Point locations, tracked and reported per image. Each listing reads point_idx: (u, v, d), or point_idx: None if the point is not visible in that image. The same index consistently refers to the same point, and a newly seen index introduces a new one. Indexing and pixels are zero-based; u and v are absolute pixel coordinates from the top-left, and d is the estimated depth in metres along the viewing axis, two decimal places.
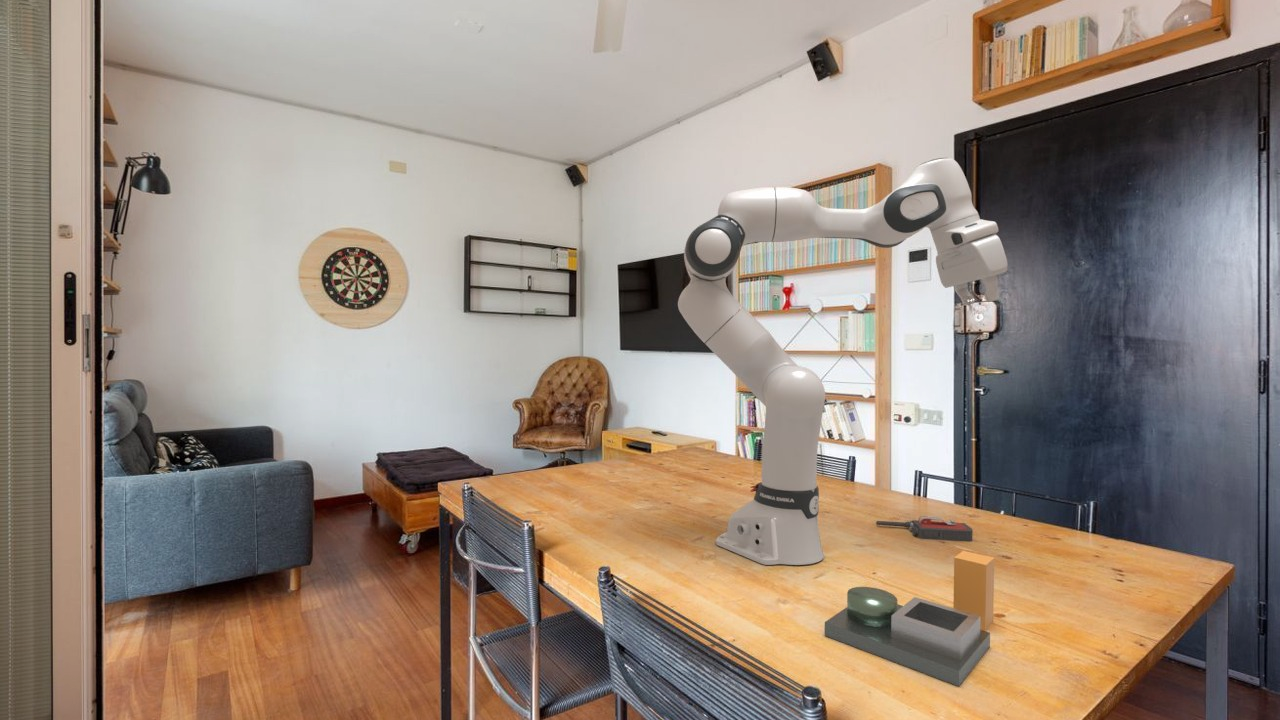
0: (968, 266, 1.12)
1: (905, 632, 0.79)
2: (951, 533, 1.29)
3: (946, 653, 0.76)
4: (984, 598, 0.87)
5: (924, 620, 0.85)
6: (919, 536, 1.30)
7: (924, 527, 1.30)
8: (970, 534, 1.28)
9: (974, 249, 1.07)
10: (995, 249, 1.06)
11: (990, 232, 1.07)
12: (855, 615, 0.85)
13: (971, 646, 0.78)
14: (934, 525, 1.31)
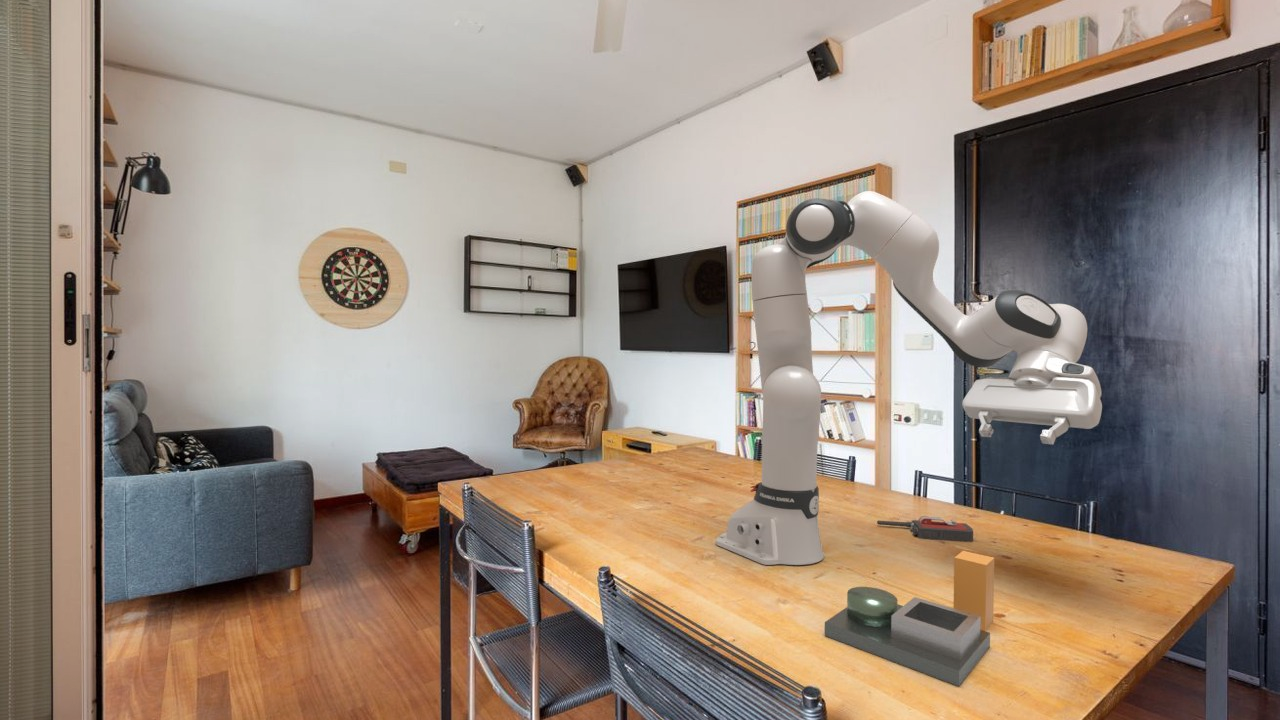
0: (1048, 398, 0.97)
1: (905, 632, 0.79)
2: (951, 533, 1.29)
3: (946, 653, 0.76)
4: (984, 598, 0.87)
5: (924, 620, 0.85)
6: (919, 536, 1.30)
7: (924, 527, 1.30)
8: (971, 534, 1.28)
9: (1090, 386, 0.93)
10: (1100, 405, 0.93)
11: (1098, 392, 0.96)
12: (855, 615, 0.85)
13: (971, 646, 0.78)
14: (934, 525, 1.31)
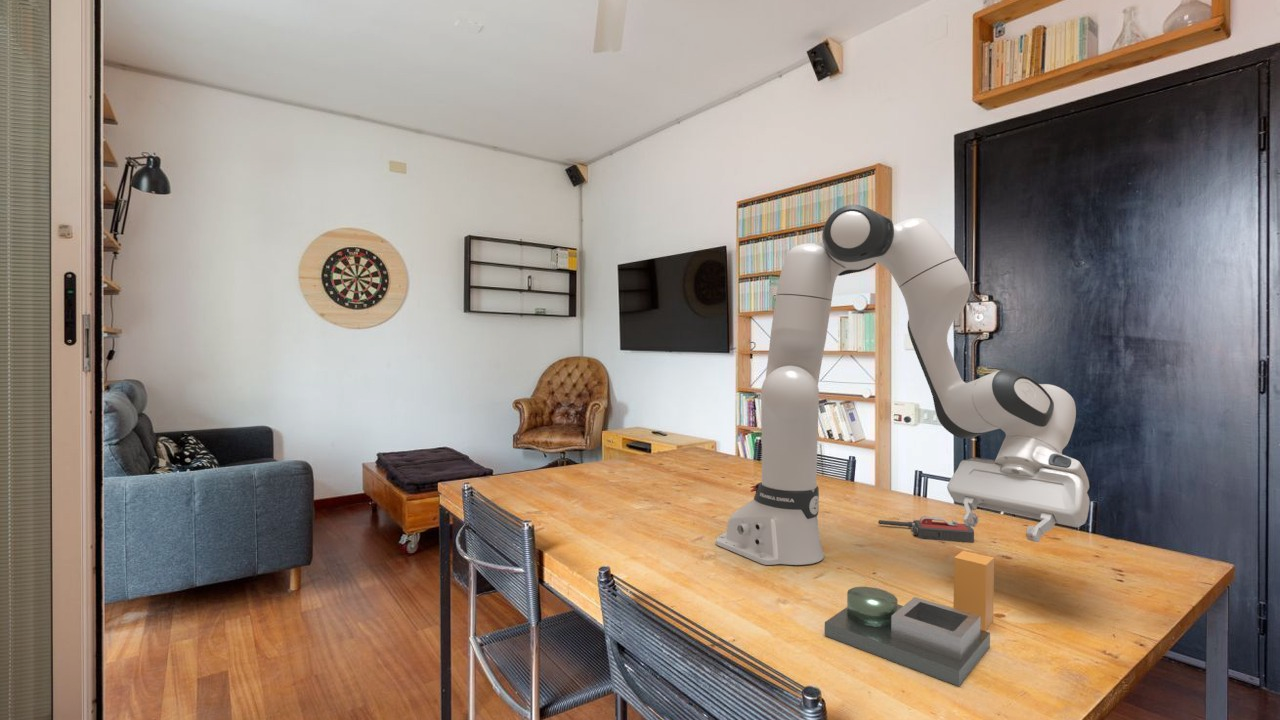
0: (1035, 491, 0.94)
1: (905, 632, 0.79)
2: (952, 533, 1.28)
3: (946, 653, 0.76)
4: (984, 598, 0.87)
5: (924, 620, 0.85)
6: (919, 536, 1.30)
7: (924, 527, 1.30)
8: (971, 535, 1.27)
9: (1078, 482, 0.90)
10: (1087, 501, 0.90)
11: (1085, 486, 0.93)
12: (855, 615, 0.85)
13: (971, 646, 0.78)
14: (935, 525, 1.31)
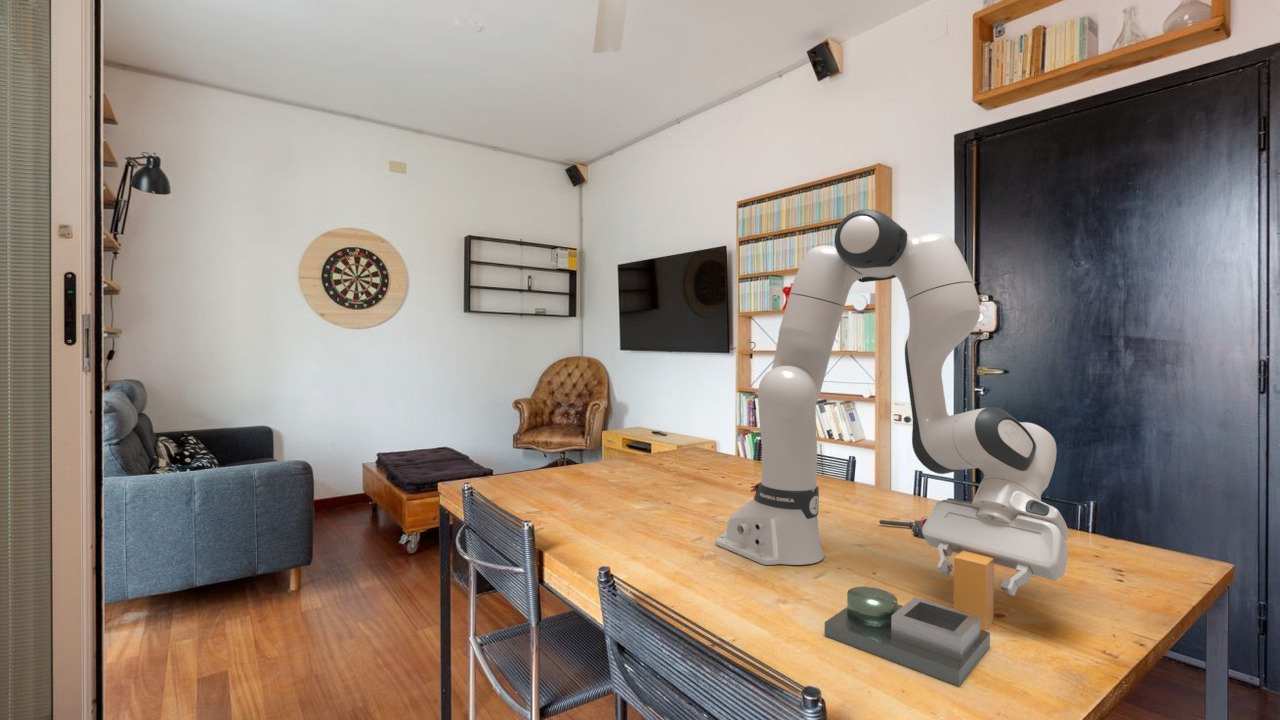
0: (1011, 540, 0.89)
1: (905, 632, 0.79)
2: None
3: (946, 653, 0.76)
4: (984, 598, 0.87)
5: (924, 620, 0.85)
6: (919, 536, 1.30)
7: None
8: None
9: (1055, 532, 0.85)
10: (1065, 553, 0.85)
11: (1064, 535, 0.88)
12: (855, 615, 0.85)
13: (971, 646, 0.78)
14: None
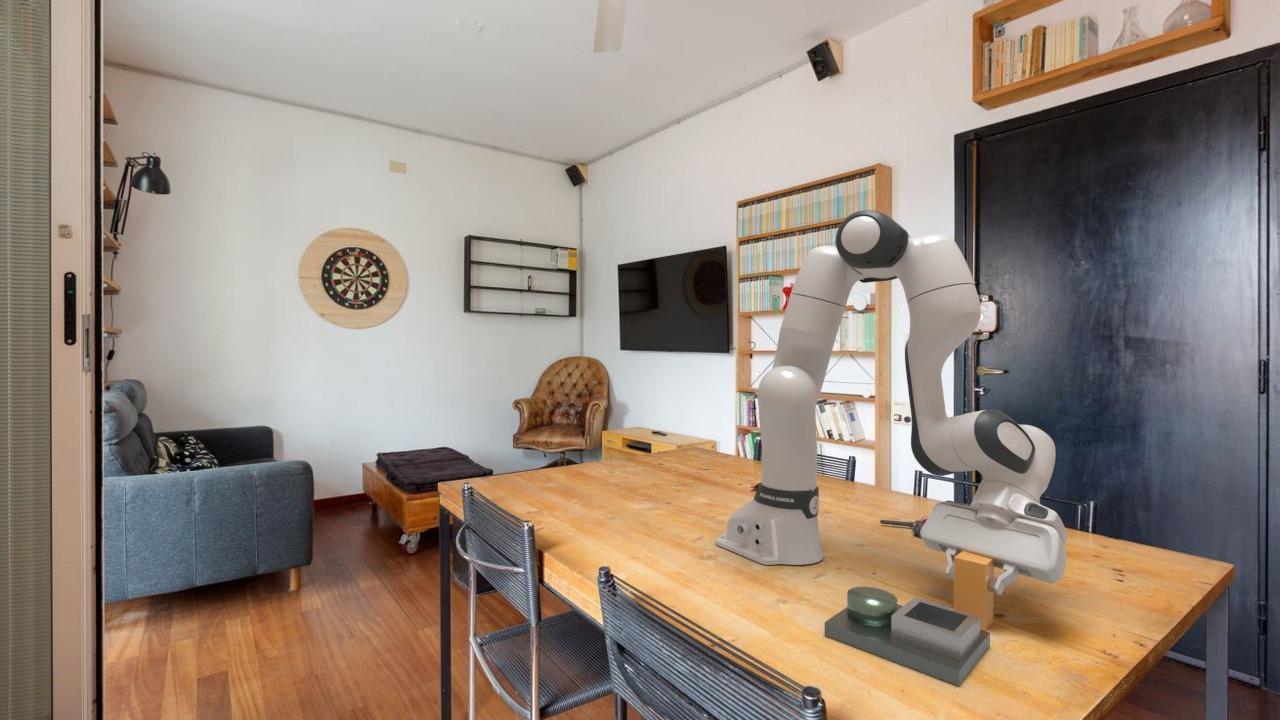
0: (1009, 543, 0.89)
1: (905, 632, 0.79)
2: None
3: (946, 653, 0.76)
4: (984, 598, 0.87)
5: (924, 620, 0.85)
6: (919, 536, 1.30)
7: None
8: None
9: (1054, 535, 0.85)
10: (1064, 556, 0.85)
11: (1063, 538, 0.88)
12: (855, 615, 0.85)
13: (971, 646, 0.78)
14: None
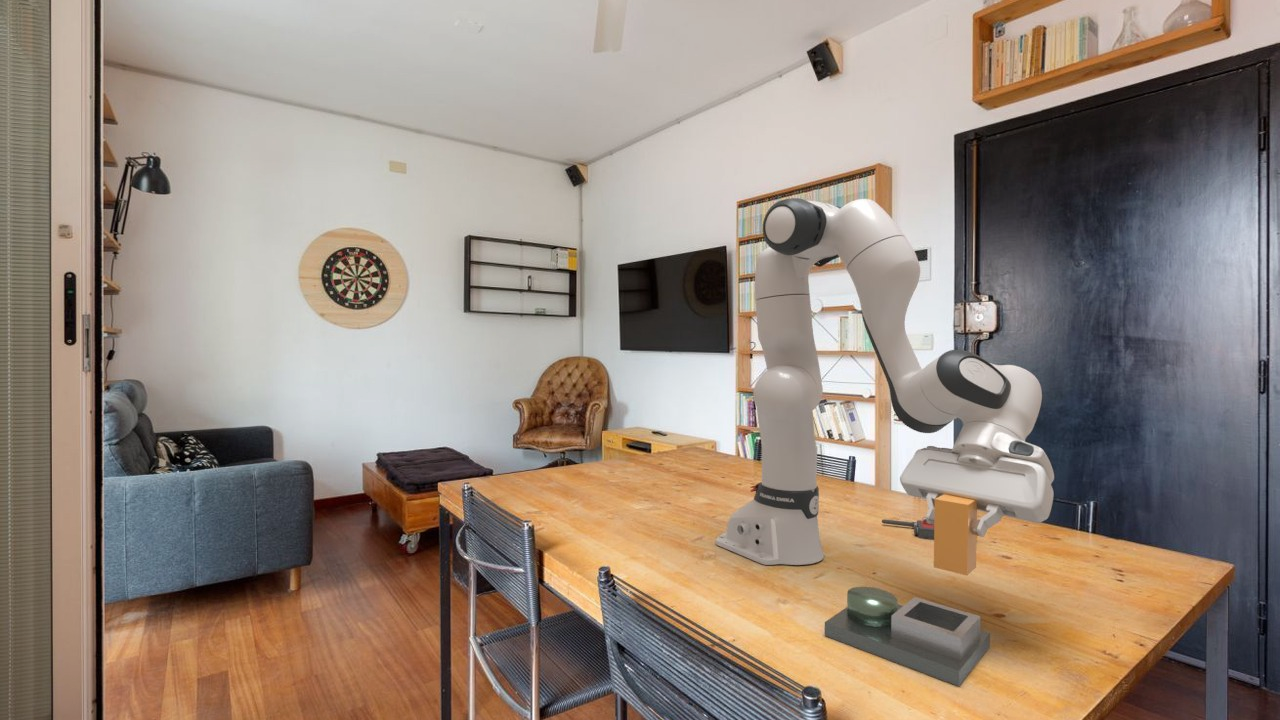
0: (993, 483, 0.83)
1: (905, 632, 0.79)
2: None
3: (946, 653, 0.76)
4: (966, 540, 0.81)
5: (924, 620, 0.85)
6: (919, 536, 1.30)
7: (924, 527, 1.30)
8: None
9: (1040, 472, 0.80)
10: (1050, 494, 0.80)
11: (1049, 477, 0.82)
12: (855, 615, 0.85)
13: (971, 646, 0.78)
14: None
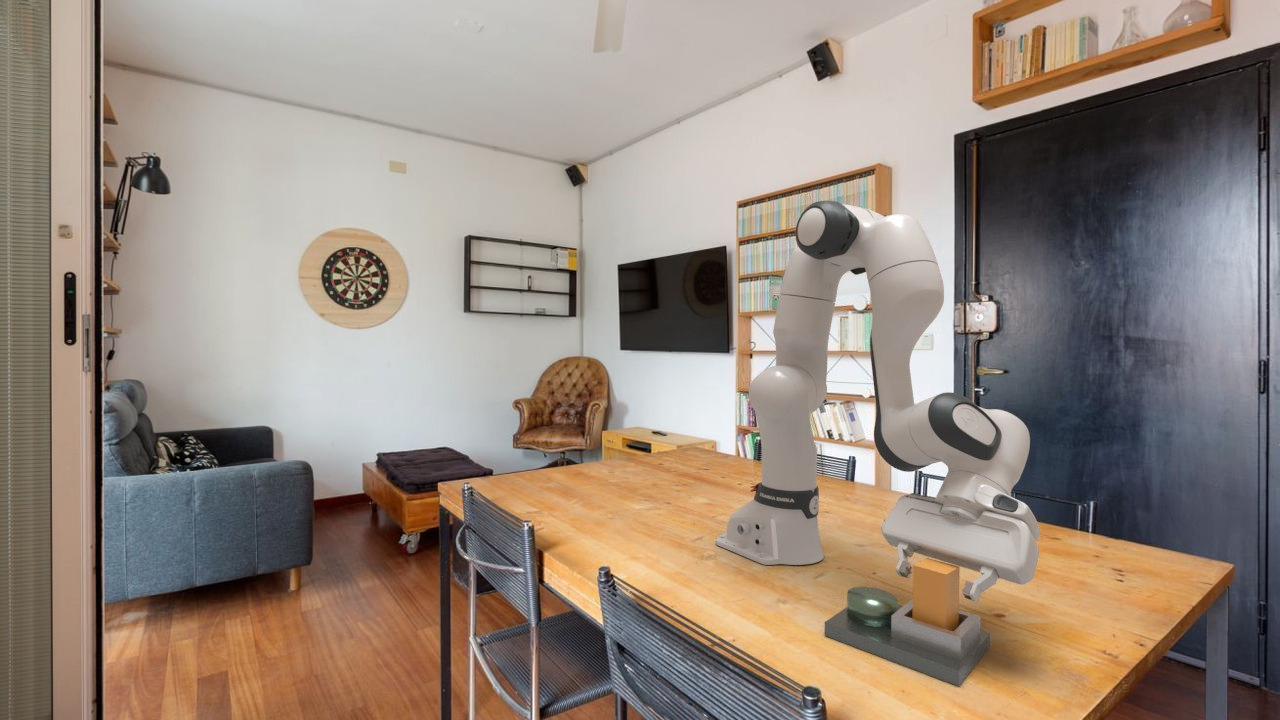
0: (975, 539, 0.80)
1: (905, 632, 0.79)
2: None
3: (946, 653, 0.76)
4: (944, 611, 0.78)
5: None
6: None
7: None
8: None
9: (1024, 530, 0.76)
10: (1035, 554, 0.76)
11: (1035, 534, 0.79)
12: (855, 615, 0.85)
13: (971, 646, 0.78)
14: None
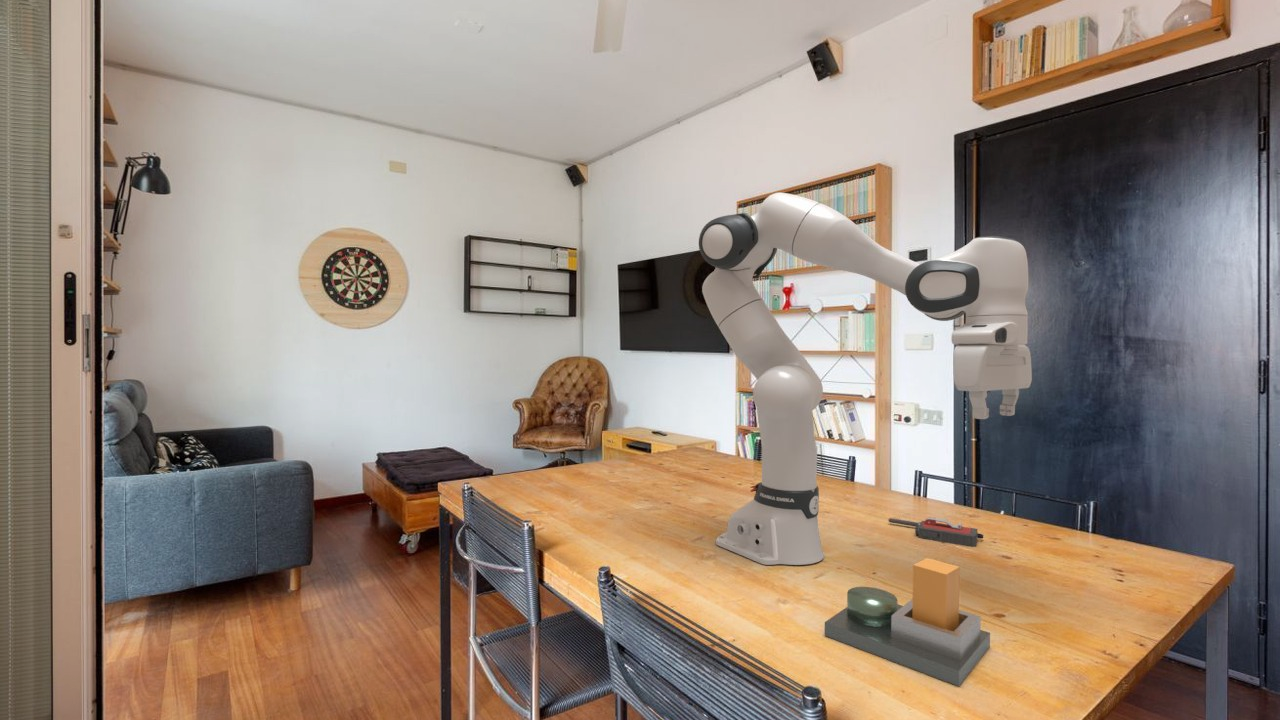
0: None
1: (905, 632, 0.79)
2: (952, 535, 1.27)
3: (946, 653, 0.76)
4: (944, 611, 0.78)
5: None
6: (919, 535, 1.31)
7: (924, 527, 1.30)
8: (972, 539, 1.25)
9: None
10: (971, 362, 0.90)
11: (979, 341, 0.90)
12: (855, 615, 0.85)
13: (971, 646, 0.78)
14: (937, 526, 1.30)
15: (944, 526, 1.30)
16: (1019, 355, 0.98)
